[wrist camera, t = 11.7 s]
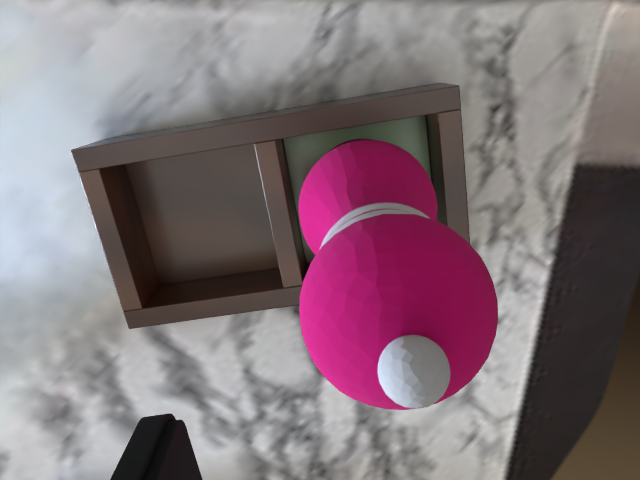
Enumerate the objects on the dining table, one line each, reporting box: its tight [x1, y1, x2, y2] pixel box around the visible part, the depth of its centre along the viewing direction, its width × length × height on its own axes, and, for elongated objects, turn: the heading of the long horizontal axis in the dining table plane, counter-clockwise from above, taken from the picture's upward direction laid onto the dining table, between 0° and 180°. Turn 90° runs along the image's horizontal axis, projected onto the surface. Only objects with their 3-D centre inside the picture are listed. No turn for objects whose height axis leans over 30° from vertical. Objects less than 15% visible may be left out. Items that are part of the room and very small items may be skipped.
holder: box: [71, 83, 470, 329], centre depth 30 cm, size 11×21×4 cm, turn 99°
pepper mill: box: [299, 139, 498, 410], centre depth 21 cm, size 7×7×20 cm
